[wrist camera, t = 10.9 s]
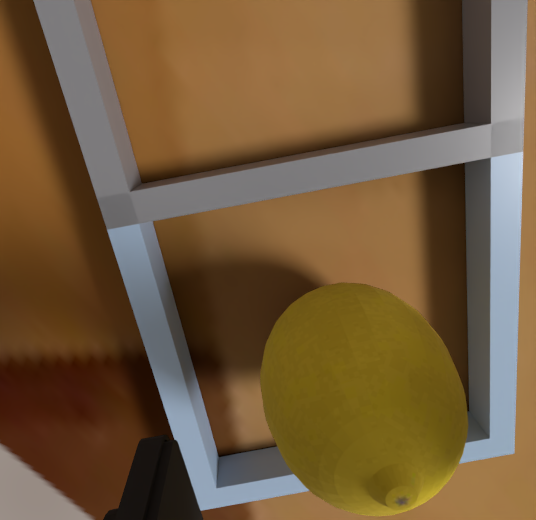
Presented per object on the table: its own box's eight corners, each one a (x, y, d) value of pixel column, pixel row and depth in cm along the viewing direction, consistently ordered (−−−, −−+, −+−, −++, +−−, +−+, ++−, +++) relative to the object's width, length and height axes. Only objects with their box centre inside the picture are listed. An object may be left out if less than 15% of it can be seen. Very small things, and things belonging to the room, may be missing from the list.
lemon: (228, 333, 16) (214, 530, 8) (319, 221, 15) (398, 336, 7) (336, 401, 17) (407, 621, 10) (428, 303, 16) (590, 473, 9)
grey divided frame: (-38, -302, 10) (-88, -376, 8) (496, -409, 10) (542, -503, 8) (201, 478, 18) (197, 511, 17) (491, 425, 18) (514, 453, 17)
